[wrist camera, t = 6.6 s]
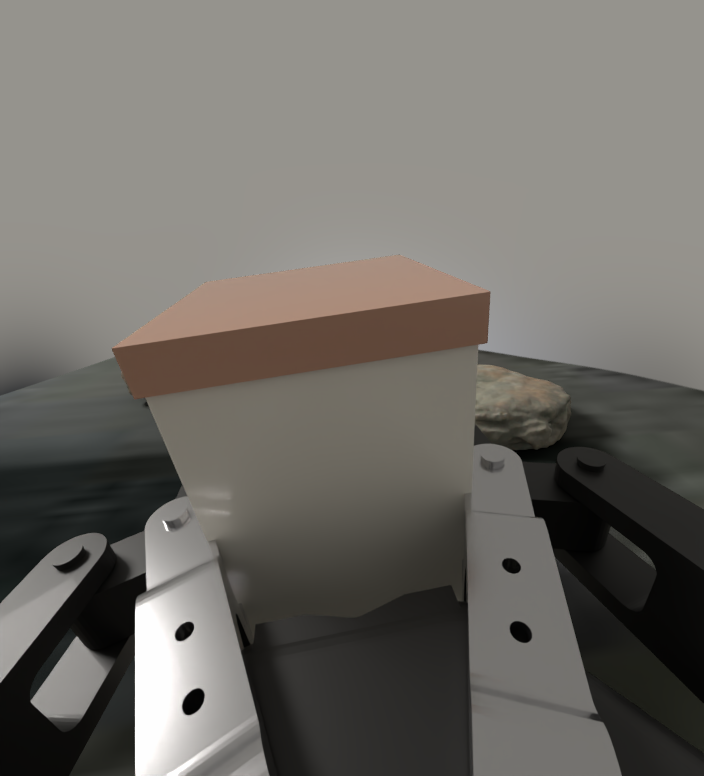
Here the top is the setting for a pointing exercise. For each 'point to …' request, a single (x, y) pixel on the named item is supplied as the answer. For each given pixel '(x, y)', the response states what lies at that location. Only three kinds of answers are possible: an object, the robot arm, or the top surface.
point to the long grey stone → (517, 409)
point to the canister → (321, 428)
